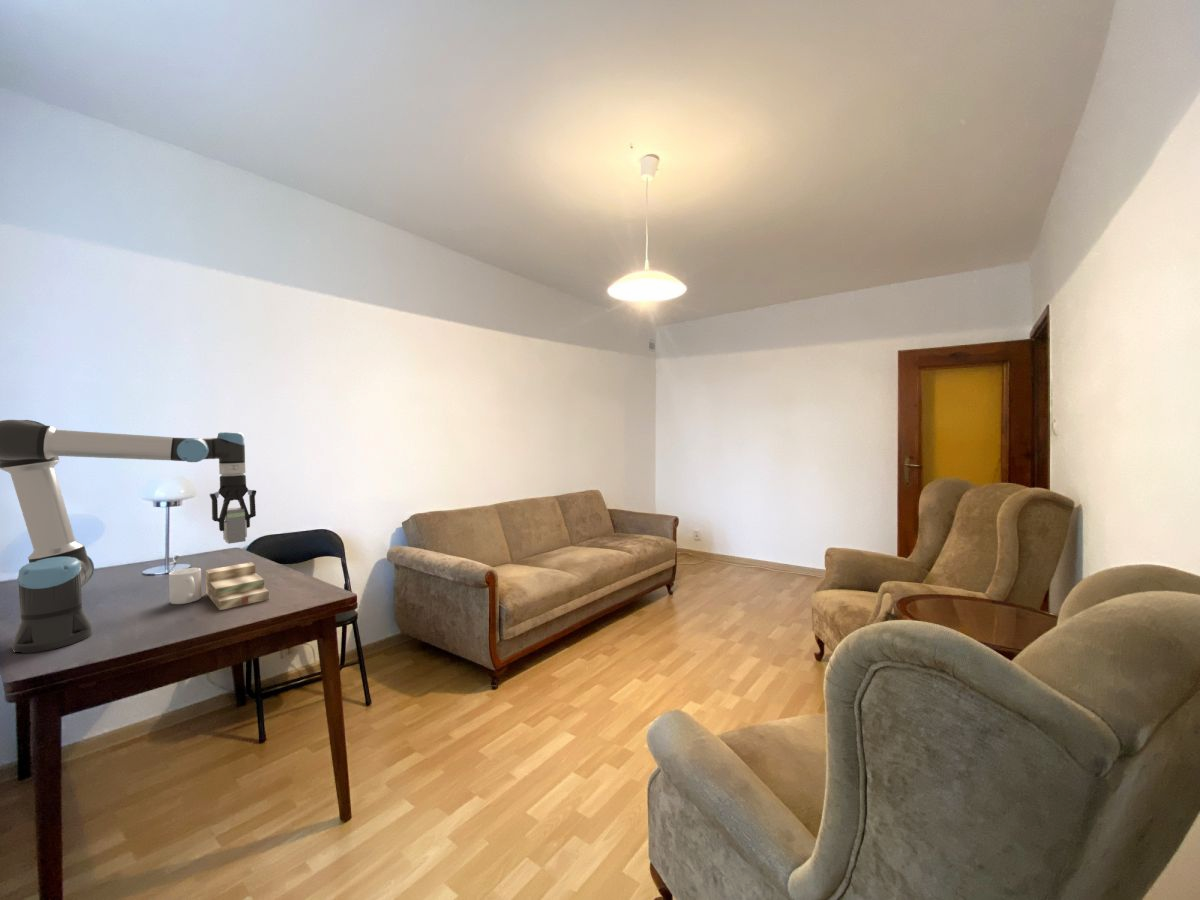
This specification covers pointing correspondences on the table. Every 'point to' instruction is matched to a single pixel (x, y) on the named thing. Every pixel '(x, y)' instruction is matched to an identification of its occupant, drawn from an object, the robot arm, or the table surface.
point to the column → (235, 525)
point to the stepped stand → (235, 586)
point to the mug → (185, 585)
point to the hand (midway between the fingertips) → (235, 538)
